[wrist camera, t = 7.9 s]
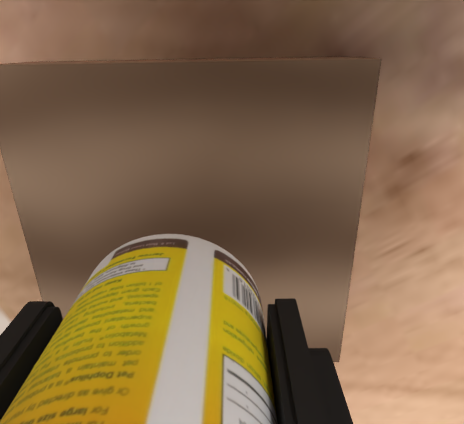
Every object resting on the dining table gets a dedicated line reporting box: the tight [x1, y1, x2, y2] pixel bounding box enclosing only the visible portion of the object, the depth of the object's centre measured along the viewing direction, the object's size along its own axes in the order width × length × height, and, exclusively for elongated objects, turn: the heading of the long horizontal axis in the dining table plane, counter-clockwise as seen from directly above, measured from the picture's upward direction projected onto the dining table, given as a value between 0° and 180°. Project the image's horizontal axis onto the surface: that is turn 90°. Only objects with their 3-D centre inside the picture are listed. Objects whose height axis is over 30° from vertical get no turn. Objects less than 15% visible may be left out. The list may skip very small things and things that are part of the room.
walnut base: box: [0, 57, 381, 362], centre depth 17 cm, size 14×14×4 cm
